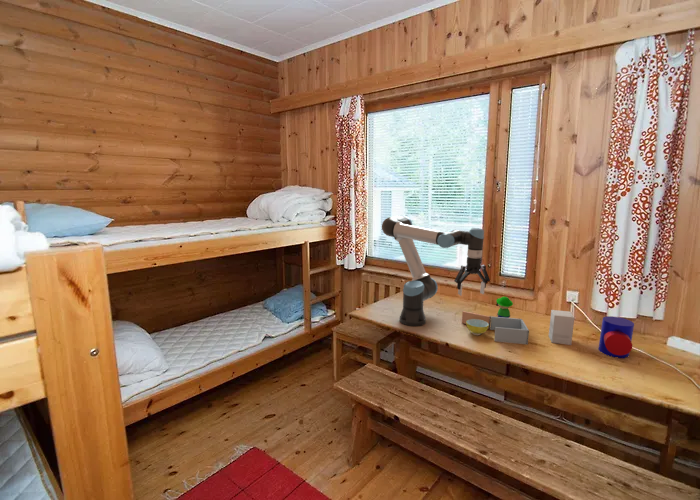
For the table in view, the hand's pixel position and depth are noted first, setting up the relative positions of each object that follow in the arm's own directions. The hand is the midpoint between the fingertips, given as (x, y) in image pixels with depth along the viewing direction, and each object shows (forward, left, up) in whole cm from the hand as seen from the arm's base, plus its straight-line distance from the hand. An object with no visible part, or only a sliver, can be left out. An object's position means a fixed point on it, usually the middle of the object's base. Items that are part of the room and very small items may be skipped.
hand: (470, 294), depth 198 cm
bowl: (+3, -8, -20) cm, 22 cm away
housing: (+18, -8, -20) cm, 28 cm away
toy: (+20, +14, -20) cm, 32 cm away
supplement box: (+44, -7, -20) cm, 49 cm away
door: (+4, +3, -20) cm, 20 cm away
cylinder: (+66, -15, -20) cm, 70 cm away
